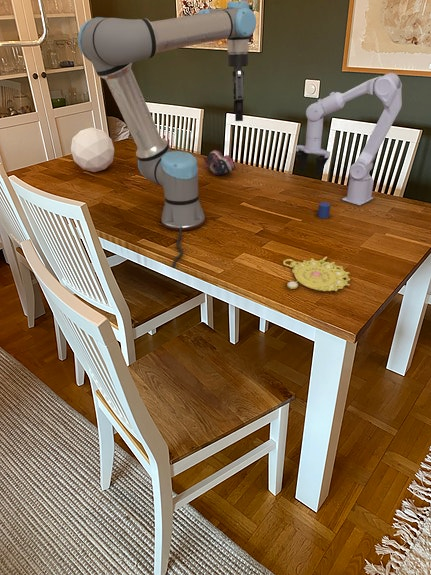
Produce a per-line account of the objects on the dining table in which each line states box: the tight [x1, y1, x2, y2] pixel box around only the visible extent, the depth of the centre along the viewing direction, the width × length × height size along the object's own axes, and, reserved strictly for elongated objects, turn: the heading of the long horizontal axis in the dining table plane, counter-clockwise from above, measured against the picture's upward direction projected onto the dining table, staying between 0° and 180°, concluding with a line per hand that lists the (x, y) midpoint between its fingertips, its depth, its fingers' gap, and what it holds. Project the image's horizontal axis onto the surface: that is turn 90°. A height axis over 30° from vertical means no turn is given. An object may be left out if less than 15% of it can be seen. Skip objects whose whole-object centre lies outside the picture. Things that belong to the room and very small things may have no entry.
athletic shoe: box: [201, 149, 237, 176], centre depth 198 cm, size 11×22×12 cm
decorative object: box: [282, 255, 351, 292], centre depth 122 cm, size 21×2×20 cm
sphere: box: [70, 126, 115, 173], centre depth 204 cm, size 19×20×20 cm
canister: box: [317, 201, 331, 219], centre depth 156 cm, size 4×4×4 cm
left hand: (238, 117), depth 166 cm, fingers open, 13 cm apart
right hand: (310, 172), depth 173 cm, fingers open, 7 cm apart
